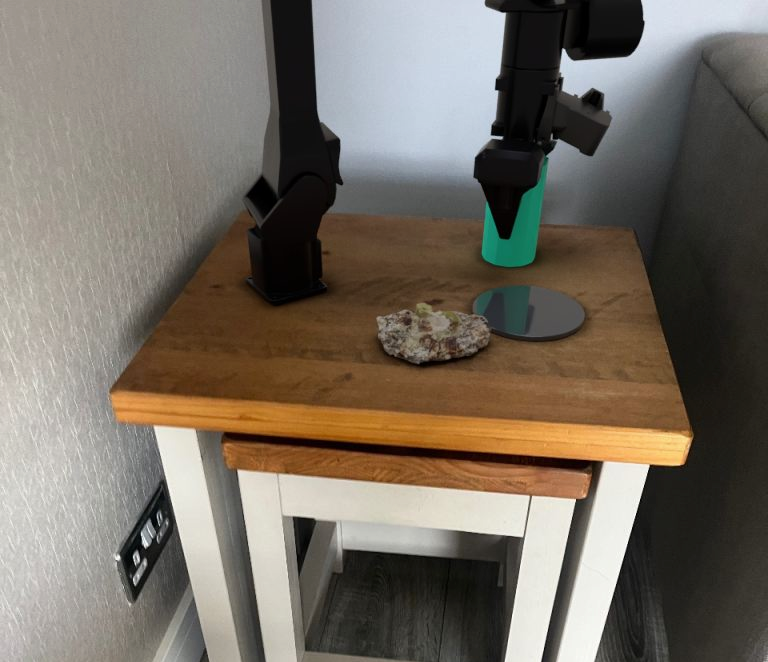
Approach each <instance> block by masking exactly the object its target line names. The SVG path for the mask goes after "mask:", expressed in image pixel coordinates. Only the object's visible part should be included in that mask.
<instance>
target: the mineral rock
mask: <svg viewBox="0 0 768 662" xmlns="http://www.w3.org/2000/svg"><path fill="white" fill-rule="evenodd" d="M375 320H376V322H377V327H378V329H377V339H378V340H379V341H380V342H381V344H382V346H383V350H384V351H385V352H386V353H387V354H388V355H389V356H392V355H393V356H394V357H396V358H399V359H403V360H405V361H407V362H409V363H412V364H414V365H420V363H426V362H432V361H435V362H443V361H446V360H451V359H456V358H461V357H465V356H466V357H471V356H472V355H473V354H475V353H478V351H479V349H484V348H485V347H486V346H488V343H489V341H490V340H491V337H492V335H491V330H492V328H491V327H490V326H489V325H488V321H487V319H486V318H485V317H483V316H478V315H476V314H473V313H471V314H467V313H463V312H461V311H455V310H445V311H444V310H440V309H439V310H437V311H436V312H435V311H434V308H433V306H432V305H430V304H428V303H426V302H419V303H416V305H415V310H410V309H401V310H400V311H397V312H393V313H391V314H388V315H385V316H382V315H381V316H380V315H378V316H377V317H376V319H375Z"/></svg>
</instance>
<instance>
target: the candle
mask: <svg viewBox="0 0 768 662" xmlns="http://www.w3.org/2000/svg"><path fill="white" fill-rule="evenodd" d="M549 159H550V158H549V157H548V156H545V155H544V163H543V168H542V173H541V178H540V180H539V182H538V184H537V186H536V187H534V188H532V189H530V190H529V191H527V192H526V193H525V194H524V195H523V198H522V201H521V205H520V208H519V211H518V214H517V218H516V221H515V224H514V228H513V231H512V234H511V237H510V239H509V240H505V239H500V238H499V235H498V232H497V229H496V226H495V223H494V220H493V217H492V214H491V211H490V208H489V205H488V203H487V201H485V205H486V206H485V212H484V213H485V214H484V225H483V235H482V246H481V256H482V258H483V259H484V261H486V262H488V263H490V264H491V265H494V266H500V267H506V268H513V267H514V268H515V267H524V266H526V265H530V264H532V263H533V261H534V260H535V258H536V253H537V247H538V246H537V245H538V238H539V231H540V225H541V217H542V216H541V215H542V209H543V202H544V196H545V188H546V181H547V174H548V168H549Z"/></svg>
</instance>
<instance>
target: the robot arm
mask: <svg viewBox="0 0 768 662" xmlns="http://www.w3.org/2000/svg"><path fill="white" fill-rule="evenodd" d="M260 1H261V12H262V22H263V24H262V25H263V37H264V47H265V58H266V69H267V70H266V71H267V80H268V81H267V82H268V94H269V115H268V118H267V123H266V127H265V132H264V137H263V148H262V149H263V150H262V164H261V173H260V174H259V176H258V177H257V178H256V179H255V181H254V182H253V183H252V184H251V185H250V187H249V188H248V189H247V190H246V192H245V193H244V194H243V196H242V202H243V204H244V206H245V208H246V210H247V212H248V215H249V216H250V218H252V219H253V221H254V222H255V225H254V226H253V227H249V228H247V229H246V234H247V235H246V236H247V245H248V253H249V263H250V271H251V273H250V274H251V275H249V276H246V277H245V283H246V284H247V286H249V287H250V288H252V290H254V291H255V292H256V293H258V294H259V295H260V296H261V297H262V298H263V299H264V300H266V301H267V302H268V303H269V304H270V305H278V304H282V303H287V302H290V301H293V300H297V299H300V298H301V299H302V298H304V297H309V296H312V295H316V294H319V293H323V292H326V291H328V285H327V284H326V283H325V282H324V281H322V280H321V279H323V277H324V271H323V253H322V252H323V249H322V240H321V239H320V238H319V237H318V233H319V230H320V226H321V224H322V220H323V217H324V215H325V214H327V212H328V211H329V209H331V208H332V207H333V206H334V205H335V201H336V198H337V190H338V187H337V185H338V186H340V187H342V186H343V185H344V180H343V179H342V176H341V172H340V171H341V170H340V157H341V149H342V148H341V147H342V146H341V143H342V142H341V138H340V137H339V136H338V135H336V133H335V132H333V131H332V130H331V129H330V128H329V127H328V126H327V124H325V123H324V122H323V121H321V120H320V116H319V110H318V97H317V96H318V94H317V75H316V55H315V53H316V52H315V36H314V33H315V32H314V18H313V17H314V16H313V14H314V13H313V0H260ZM484 6H485V8H488V9H489V10H490V9H491V10H492V11H496V12H499V13H502V14H505V17H504V27H503V37H502V47H501V48H502V49H501V57H500V58H501V59H500V68H499V74H498V75H497V76H496V78H495V83H494V91H496V92H497V100H496V111H495V119H494V120H493V122H491V123H492V124H491V126H490V137H499V138H491V139H489V141H487V142H486V143H485V144H484V145H483V146H482V147H481V148H480V149H479V151H478V152H477V154H476V155H475V156H474V162H473V163H474V164H473V177H472V178H474V179H475V180H477V183H478V184H480V187H481V189H482V192H483V194H484V197H485V200H486V202H487V203H488V205H489V208H490V211H491V214H492V217H493V220H494V223H495V226H496V229H497V232H498V235H499V238H500V239H505V240H509V239H510V237H511V234H512V231H513V228H514V224H515V221H516V218H517V214H518V211H519V208H520V205H521V201H522V198H523V195H524V194H525V193H526V192H527V191H529V190H530V189H532V188H534V187H536V186H537V184H538V182H539V180H540V178H541V173H542V168H543V163H544V155H545V156H546V157H548V156H549V154H551V153H552V152H553V151H554V150H555V148H556V146H557V144H558V140H560V141H561V142H563V143H565V144H568V145H569V146H571V147H573V148H575V149H577V150H578V151H579V153H580V154H582V155H584V156H587V157H594V156H595V153H596V152H597V150H598V148H599V147H600V144H601V143H602V141H603V139H604V137H605V135H606V134H607V131H608V130H609V128H610V127H611V123H612V119H613V116H612V115H611V111H610V110H608V109H606V110H604V108H605V93H604V92H602V91H600V90H599V89H596V88H594V87H591V88H590V89H589V90H587V91H586V92H585V93H584V94H582V95H581V96H580V97H579V95H578V94H577V93H574V95H572V94H570V93H569V92H567V91H564V90H563V88H564V87H563V86H564V82H565V81H564V80H565V77H564V76H562V72H560V71H561V64H562V63H561V62H562V56H563V50H564V51H565V53H566V56H567V57H568V58H569V59H570V60H571V61H573V62H578V61H580V62H581V61H592V60H593V61H594V60H607V59H621V58H628V57H630V56H631V55H632V54H633V53H635V52H636V50H637V49H638V47H639V45H640V43H641V41H642V37H643V33H644V31H645V25H646V22H645V19H644V6H643V2H642V0H484ZM500 137H501V139H500Z"/></svg>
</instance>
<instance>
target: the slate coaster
mask: <svg viewBox="0 0 768 662" xmlns="http://www.w3.org/2000/svg"><path fill="white" fill-rule="evenodd" d="M471 310H472V311H471V314H476V315H478V316H483V317H485V318H486V319H487V321H488V325H489V326H490V327H491V328H492V330H491V331H490V333H493V334H495V335H498V336H501V337H504V338H508V339H513V340H517V341H518V340H519V341H526V342H547V341H555V340H560V339H563V338H567V337H569V336H571V335H573V334H575V333H577V332H578V331H579V330H580V329H581V328H582V326H583V325H584V323H585V322H584V321H585V318H586V314H585V310H584V308H583V307H582V305H581V304H580V303H579V302H578V301H577V300H575V299H574V298H573V297H571V296H569V295H567V294H565V293H563V292H560V291H557V290H554V289H550V288H547V287H541V286H535V285H506V286H499V287H496V288H492V289H489V290H486V291H484V292H483V293H481V294H479V295H478V296H477V297H476V298H475V299H474V301H473V303H472V309H471Z"/></svg>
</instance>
